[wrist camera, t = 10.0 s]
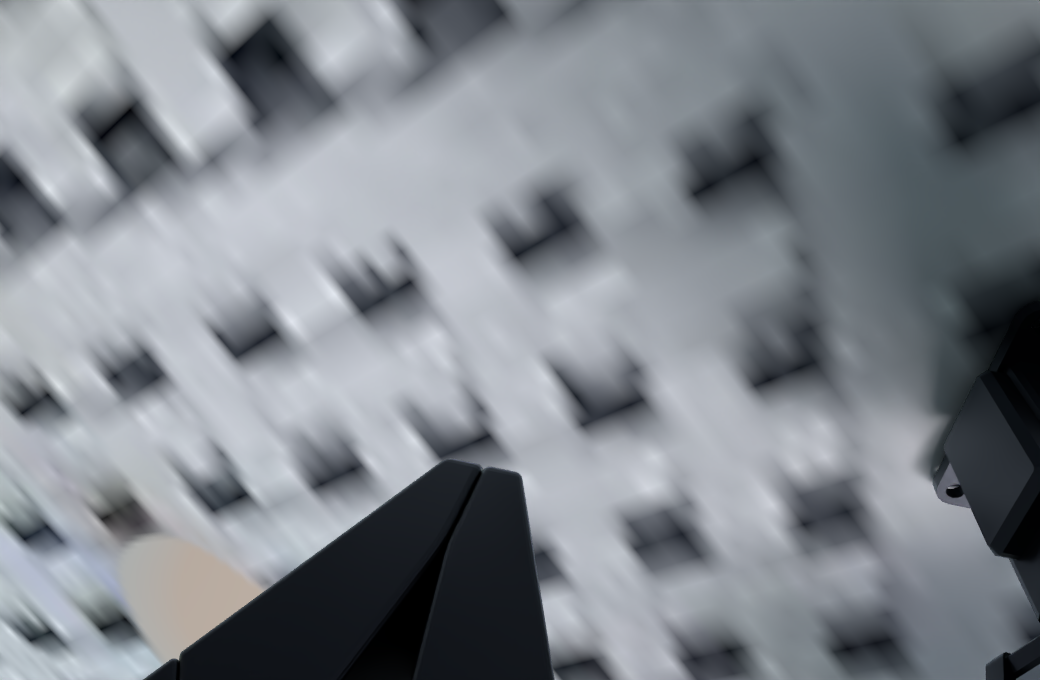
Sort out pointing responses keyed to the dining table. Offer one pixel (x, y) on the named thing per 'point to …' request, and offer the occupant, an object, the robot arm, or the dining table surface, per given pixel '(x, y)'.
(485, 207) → the dining table surface
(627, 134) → the dining table surface
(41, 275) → the dining table surface
